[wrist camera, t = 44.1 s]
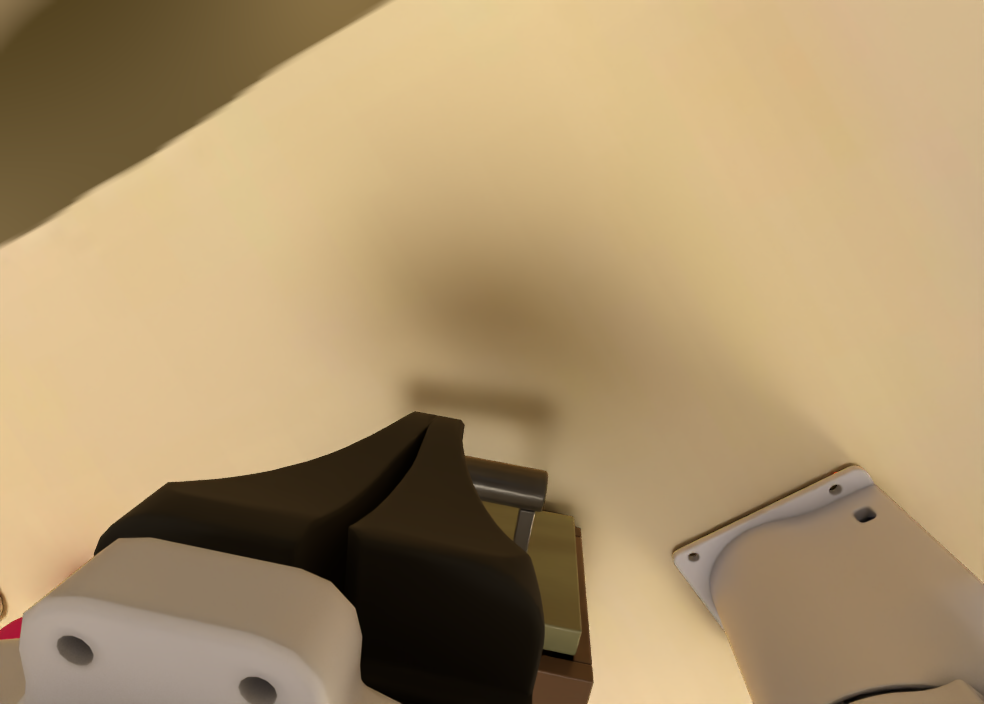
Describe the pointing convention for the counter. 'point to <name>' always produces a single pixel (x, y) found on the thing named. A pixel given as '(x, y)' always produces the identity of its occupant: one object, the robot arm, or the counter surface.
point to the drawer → (536, 543)
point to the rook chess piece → (1, 606)
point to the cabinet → (568, 659)
